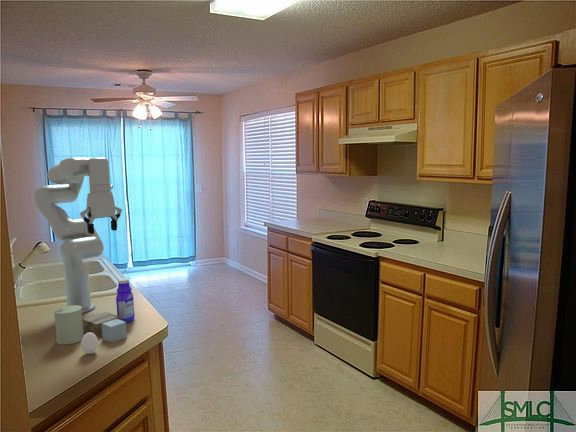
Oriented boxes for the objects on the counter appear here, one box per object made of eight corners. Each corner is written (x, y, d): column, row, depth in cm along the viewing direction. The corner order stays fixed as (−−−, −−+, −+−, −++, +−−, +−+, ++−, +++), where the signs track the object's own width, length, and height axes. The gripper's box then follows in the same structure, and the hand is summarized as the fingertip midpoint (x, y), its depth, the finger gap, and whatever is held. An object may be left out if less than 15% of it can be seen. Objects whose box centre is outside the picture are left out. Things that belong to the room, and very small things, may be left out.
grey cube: (102, 339, 162) (101, 323, 162) (117, 334, 167) (116, 318, 166) (111, 343, 159) (110, 326, 158) (126, 337, 163) (125, 322, 163)
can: (54, 338, 163) (51, 307, 162) (81, 332, 169) (78, 302, 167) (59, 346, 156) (56, 313, 154) (87, 340, 161) (84, 308, 160)
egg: (101, 350, 152) (100, 329, 152) (95, 356, 147) (93, 335, 146) (85, 350, 152) (84, 329, 151) (79, 357, 147) (77, 335, 146)
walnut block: (83, 331, 171) (82, 318, 170) (107, 323, 179) (106, 311, 178) (97, 337, 165) (96, 324, 164) (121, 329, 173) (120, 316, 172)
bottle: (127, 324, 177) (125, 281, 175) (114, 323, 178) (112, 281, 176) (137, 318, 184) (134, 277, 182) (124, 317, 185) (122, 276, 183)
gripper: (114, 187, 184) (117, 228, 186) (73, 190, 171) (77, 234, 173) (125, 188, 180) (127, 229, 182) (83, 190, 166) (86, 235, 168)
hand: (103, 231), depth 177 cm, fingers open, 9 cm apart
